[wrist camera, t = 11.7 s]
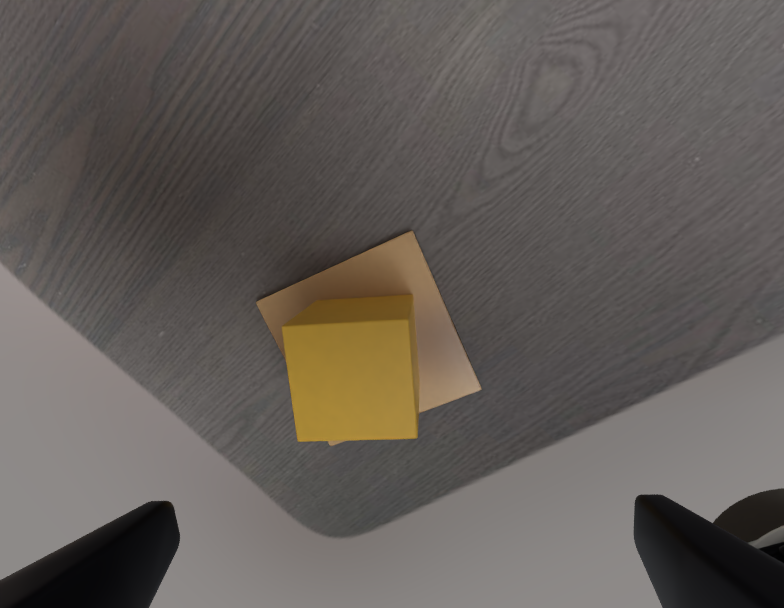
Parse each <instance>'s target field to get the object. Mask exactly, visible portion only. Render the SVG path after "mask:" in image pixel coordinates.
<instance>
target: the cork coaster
mask: <svg viewBox="0 0 784 608" xmlns="http://www.w3.org/2000/svg"><path fill="white" fill-rule="evenodd" d="M411 294H412V295H413V296H414V309H415V323H416V337H417V351H418V365H419V379H420V398H419V413H421V412H424V411H426V410H429V409H432V408H434V407H437V406H440V405H442V404H445V403H448V402H450V401H453V400H456V399H458V398H461V397H464V396H466V395H469V394H472V393H474V392H477V391H480V390H482V388H481V385H480V383H479V381H478V378H477V376H476V374H475V372H474V369H473V367H472V365H471V362H470V360H469V358H468V356H467V353H466V351H465V349H464V346H463V344H462V342H461V340H460V337H459V335H458V333H457V331H456V328H455V326H454V324H453V321H452V319H451V317H450V315H449V312H448V310H447V308H446V305H445V303H444V301H443V299H442V296H441V294H440V292H439V289H438V287H437V285H436V283H435V280H434V278H433V276H432V273H431V271H430V269H429V267H428V264H427V262H426V260H425V258H424V255H423V253H422V251H421V248H420V246H419V244H418V242H417V239H416V237H415V235H414V232H413V231H412V230H411V231H409V232H407V233H405V234H402V235H400V236H398V237H396V238H394V239H392V240H389V241H387V242H385V243H383V244H381V245H378V246H376V247H374V248H372V249H370V250H368V251H365V252H363V253H361V254H359V255H357V256H354V257H352V258H350V259H348V260H346V261H344V262H341V263H339V264H337V265H335V266H333V267H330V268H328V269H326V270H324V271H322V272H320V273H317V274H315V275H313V276H311V277H309V278H307V279H304V280H302V281H300V282H298V283H296V284H293V285H291V286H289V287H287V288H285V289H283V290H280V291H278V292H276V293H274V294H272V295H269V296H267V297H265V298H263V299H261V300H259V301H257V302H256V304H257V306H258V308H259V310H260V312H261V314H262V316H263V318H264V320H265V322H266V324H267V326H268V328H269V330H270V331H271V333H272V335H273V337H274V339H275V341H276V343H277V345H278V347H279V349H280V351H281V353H282V355H283V356H284V358H285V360H286V356H285V349H284V342H283V335H282V326H283V325H284V324H285V323H287V322H288V321H289V320H291V319H292V318H293V317H295V316H296V315H297V314H299V313H300V312H301V311H303V310H304V309H306V308H307V307H308V306H310V305H311V304H312V303H314V302H315V301H317V300H331V299H347V298H363V297H379V296H395V295H411ZM344 441H346V440H344ZM344 441H328V443H329V445H330V446H333V445H336V444H338V443H341V442H344Z"/></svg>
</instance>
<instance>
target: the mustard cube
mask: <svg viewBox="0 0 784 608" xmlns="http://www.w3.org/2000/svg"><path fill="white" fill-rule="evenodd" d="M282 335H283V342H284V349H285V356H286V363H287V370H288V377H289V385H290V392H291V399H292V406H293V413H294V420H295V427H296V434H297V440H298V441H299V442H305V441H344V440H382V439H416V438H417V436H418V418H419V398H420V379H419V365H418V351H417V337H416V323H415V309H414V296H413V295H412V294H411V295H395V296H379V297H363V298H347V299H331V300H317V301H315V302H314V303H312V304H311V305H310V306H308V307H307V308H306V309H304V310H303V311H301V312H300V313H299V314H297V315H296V316H295V317H293V318H292V319H291V320H289V321H288V322H287V323H285V324H284V325H283V326H282Z"/></svg>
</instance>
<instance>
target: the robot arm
mask: <svg viewBox="0 0 784 608" xmlns="http://www.w3.org/2000/svg"><path fill="white" fill-rule="evenodd" d="M634 514H635V515H634V540H635V544H636V548H637V550H638V552H639V555H640V557H641V559H642V562H643V564H644V566H645V568H646V571H647V573H648V575H649V578H650V580H651V582H652V584H653V586H654V589H655V591H656V593H657V596H658V598H659V600H660V603H661V605H662V607H663V608H784V542H780V543H777V544H773V545H769V546H766V547H762V548H758V549H757V548H755V547H754V546H752V545H750V544H748V543H747V542H745V541H743V540H741V539H739V538H738V537H736V536H734V535H732V534H731V533H729V532H727V531H725V530H724V529H722V528H720V527H718V526H716V525H715V524H713V523H711V522H709V521H708V520H706V519H704V518H702V517H700V516H699V515H697V514H695V513H693V512H692V511H690V510H688V509H686V508H685V507H683V506H681V505H679V504H678V503H676V502H674V501H672V500H670V499H669V498H667V497H665V496H663V495H639V496H638V497H637V498H636V500H635V513H634ZM179 541H180V533H179V529H178V524H177V520H176V516H175V510H174V507H173V505H172V503H171V502H169V501H151V502H148V503H146V504H144V505H142V506H140V507H138V508H136V509H134V510H132V511H130V512H129V513H127V514H125V515H123V516H121V517H119V518H117V519H115V520H114V521H112V522H110V523H108V524H106V525H104V526H102V527H100V528H98V529H97V530H94V531H93V532H91V533H89V534H87V535H85V536H83V537H81V538H79V539H77V540H76V541H74V542H72V543H70V544H68V545H66V546H64V547H63V548H61V549H59V550H57V551H55V552H53V553H51V554H49V555H47V556H45V557H44V558H42V559H40V560H38V561H36V562H34V563H32V564H30V565H28V566H26V567H25V568H23V569H21V570H19V571H17V572H15V573H13V574H11V575H10V576H7V577H6V578H4V579H2V580H0V608H149V606H150V604H151V602H152V600H153V598H154V596H155V594H156V592H157V590H158V588H159V586H160V584H161V582H162V579H163V577H164V576H165V573H166V572H167V569H168V567H169V565H170V563H171V561H172V559H173V557H174V555H175V553H176V551H177V549H178V546H179Z"/></svg>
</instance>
